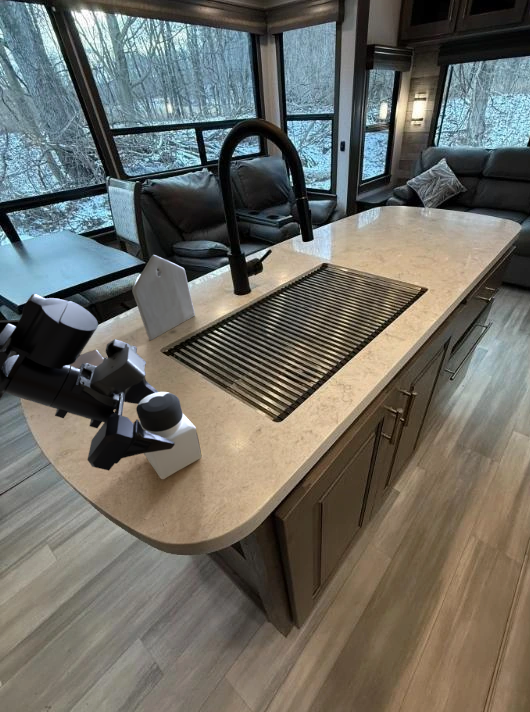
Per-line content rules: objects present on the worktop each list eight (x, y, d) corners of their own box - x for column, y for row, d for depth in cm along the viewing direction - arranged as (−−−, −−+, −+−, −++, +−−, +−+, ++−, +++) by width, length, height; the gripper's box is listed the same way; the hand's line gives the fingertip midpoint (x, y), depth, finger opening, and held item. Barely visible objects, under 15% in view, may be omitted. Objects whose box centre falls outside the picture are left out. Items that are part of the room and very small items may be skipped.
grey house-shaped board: (176, 309, 100) (158, 242, 88) (195, 315, 96) (180, 246, 84) (130, 333, 89) (102, 259, 77) (150, 340, 86) (124, 265, 73)
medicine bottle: (203, 457, 56) (191, 403, 48) (162, 481, 52) (142, 425, 44) (183, 434, 60) (169, 381, 53) (143, 454, 56) (123, 399, 49)
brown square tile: (68, 388, 70) (64, 381, 69) (58, 370, 76) (54, 363, 75) (112, 371, 75) (108, 364, 74) (99, 355, 80) (96, 348, 79)
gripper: (75, 385, 33) (208, 432, 43) (100, 307, 47) (196, 356, 57) (28, 456, 36) (162, 485, 46) (64, 363, 50) (161, 400, 60)
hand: (172, 424), depth 52 cm, fingers open, 9 cm apart
